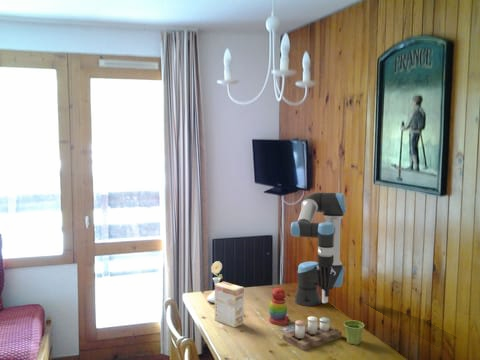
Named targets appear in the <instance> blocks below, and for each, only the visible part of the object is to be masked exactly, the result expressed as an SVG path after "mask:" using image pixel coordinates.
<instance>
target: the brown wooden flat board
mask: <svg viewBox="0 0 480 360" xmlns="http://www.w3.org/2000/svg"><path fill="white" fill-rule="evenodd" d="M342 334H343V333H342V331H340V330H338V329H336V328H334V327H331V326H330V325H329V331H328V332H325V333H324V332H322V331H320V322H317V333H316V334H310V333H308V326H307V327H305V337H304V338H297V337H296V336H295V331H292V332H289V333H283V334H282V341H283V340H284V341H285V342H286V343H289V344H290V345H292V346H294V347H296V348H298V349H299V350H302V351H305V350H308V349H312V348H314V347H317V346H320V345H322V344H325V343H328V342H331V341H335V340H337V339H339V338H342V337H343V336H342ZM299 339H301V340H299Z"/></svg>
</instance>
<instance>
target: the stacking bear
mask: <svg viewBox="0 0 480 360" xmlns="http://www.w3.org/2000/svg"><path fill="white" fill-rule="evenodd" d="M271 296H272V299H271V300H270V301H269V307H268V310H269V316H270V317H269V320H268V321H269V322H270V323H271V324H273V325H277V326H282V327H286V326H288V324H289V322H288V321H289V320H290V317H289V316H288V315H287V313H288V306H287V301H286V297H287V293H286V292H285V291H284V289H283V288H281V287H279V286H277V287H276V288H275V287H274V289H272V293H271Z"/></svg>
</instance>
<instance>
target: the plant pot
mask: <svg viewBox="0 0 480 360" xmlns="http://www.w3.org/2000/svg"><path fill="white" fill-rule="evenodd" d="M343 325H344V328H345V335H346V341H347V343H348V344H349V345H360V344H361V340H362V334H363V331H364V330H363V329H364V327H365V324H364V323H363V322H362V321H359V320H353V319H352V320H350V319H349V320H346V321H344V322H343Z"/></svg>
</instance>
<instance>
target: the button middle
mask: <svg viewBox="0 0 480 360" xmlns="http://www.w3.org/2000/svg"><path fill="white" fill-rule="evenodd" d="M318 319H319V318H318V317H317V316H308V317H307V327H308V333H310V334H312V335H313V334H316V333H317V323H318Z"/></svg>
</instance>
